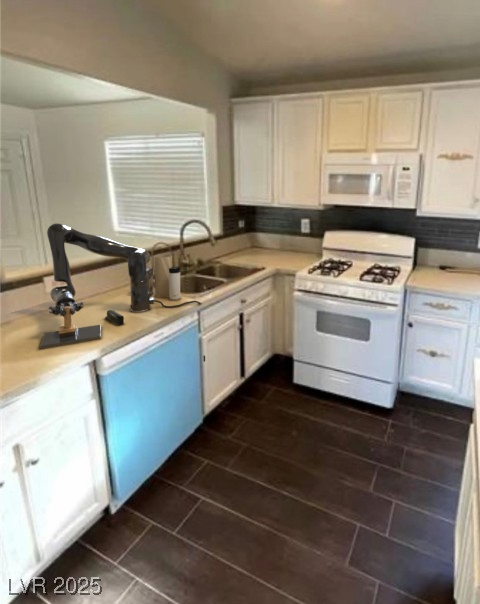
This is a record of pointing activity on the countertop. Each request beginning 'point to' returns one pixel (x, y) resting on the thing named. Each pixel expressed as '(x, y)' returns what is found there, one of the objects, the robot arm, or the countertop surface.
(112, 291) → the countertop surface
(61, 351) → the countertop surface
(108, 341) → the countertop surface
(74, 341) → the slate board
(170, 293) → the travel mug
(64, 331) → the brush
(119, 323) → the dark green rounded bar
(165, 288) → the tall beige box
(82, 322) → the countertop surface
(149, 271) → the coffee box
